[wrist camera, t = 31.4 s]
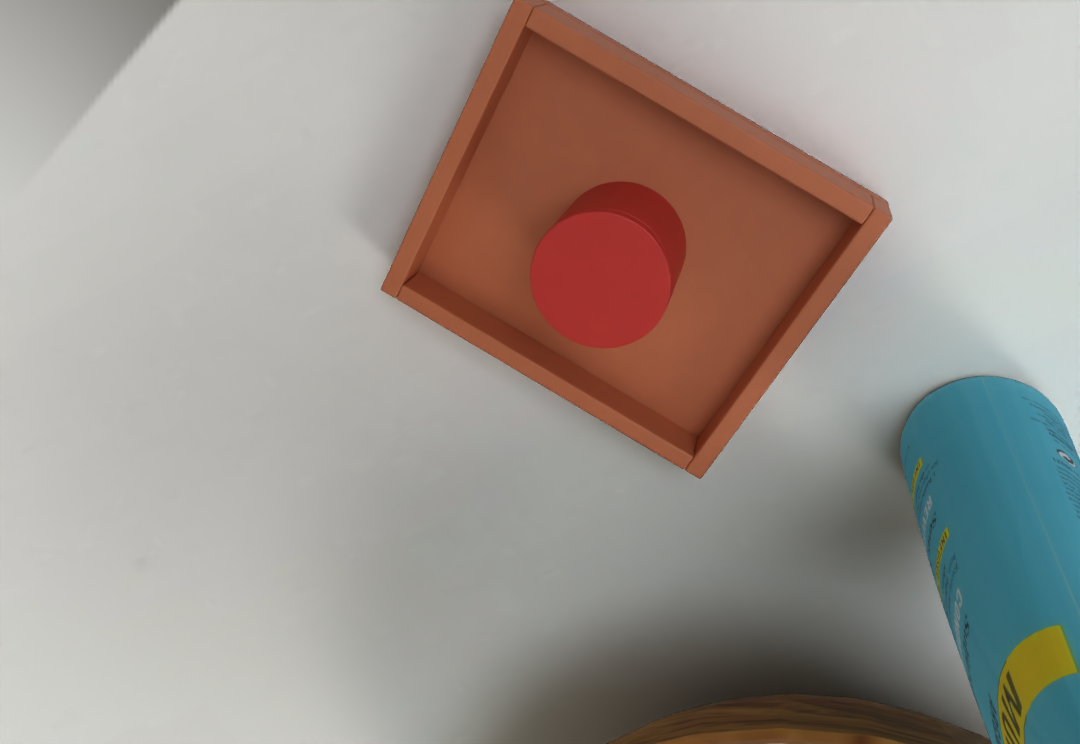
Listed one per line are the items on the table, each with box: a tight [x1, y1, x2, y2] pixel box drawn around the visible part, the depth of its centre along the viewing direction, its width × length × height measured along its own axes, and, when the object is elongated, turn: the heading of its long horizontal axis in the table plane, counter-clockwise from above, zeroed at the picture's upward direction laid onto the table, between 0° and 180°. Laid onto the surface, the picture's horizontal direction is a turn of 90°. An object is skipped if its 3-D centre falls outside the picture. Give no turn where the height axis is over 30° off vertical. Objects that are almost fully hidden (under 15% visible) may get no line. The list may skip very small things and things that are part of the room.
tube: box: [900, 376, 1080, 744], centre depth 22 cm, size 7×5×19 cm, turn 24°
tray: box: [381, 0, 892, 479], centre depth 30 cm, size 12×10×2 cm
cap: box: [530, 182, 686, 348], centre depth 29 cm, size 4×4×4 cm
